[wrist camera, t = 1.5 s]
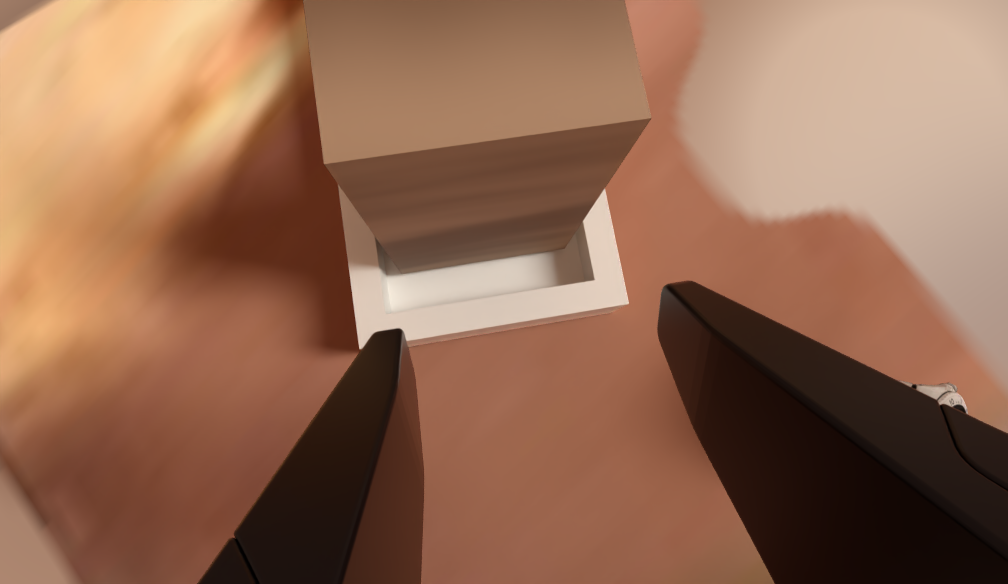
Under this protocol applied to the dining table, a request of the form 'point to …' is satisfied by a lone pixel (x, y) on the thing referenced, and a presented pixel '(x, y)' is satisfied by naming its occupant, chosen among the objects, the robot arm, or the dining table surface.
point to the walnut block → (474, 119)
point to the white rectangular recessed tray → (484, 285)
